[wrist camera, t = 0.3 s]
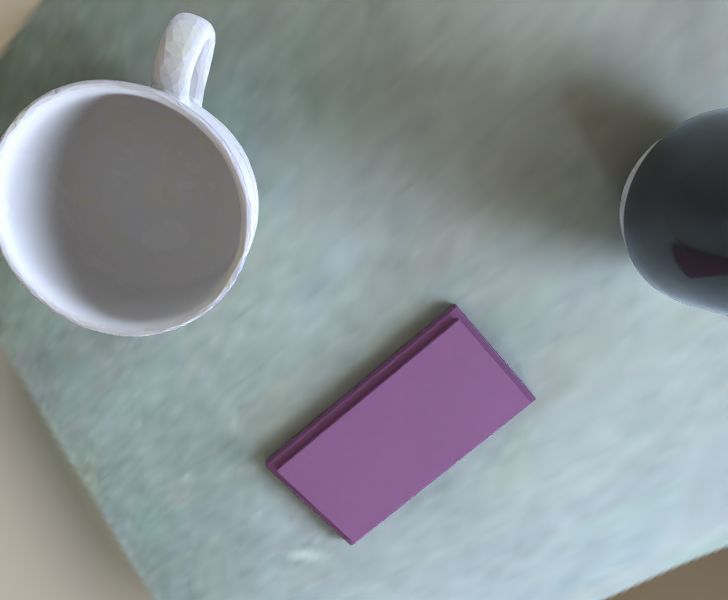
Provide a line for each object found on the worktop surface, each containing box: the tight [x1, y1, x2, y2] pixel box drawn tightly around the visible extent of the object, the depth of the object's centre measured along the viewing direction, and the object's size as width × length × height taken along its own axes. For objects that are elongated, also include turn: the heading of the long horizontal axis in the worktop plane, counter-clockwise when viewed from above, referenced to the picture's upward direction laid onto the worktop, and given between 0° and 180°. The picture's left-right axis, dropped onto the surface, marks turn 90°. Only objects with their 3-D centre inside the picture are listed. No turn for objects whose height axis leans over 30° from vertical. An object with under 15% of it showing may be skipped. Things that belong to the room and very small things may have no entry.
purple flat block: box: [265, 304, 535, 545], centre depth 39 cm, size 8×15×1 cm, turn 130°
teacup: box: [0, 13, 259, 337], centre depth 30 cm, size 14×11×8 cm
